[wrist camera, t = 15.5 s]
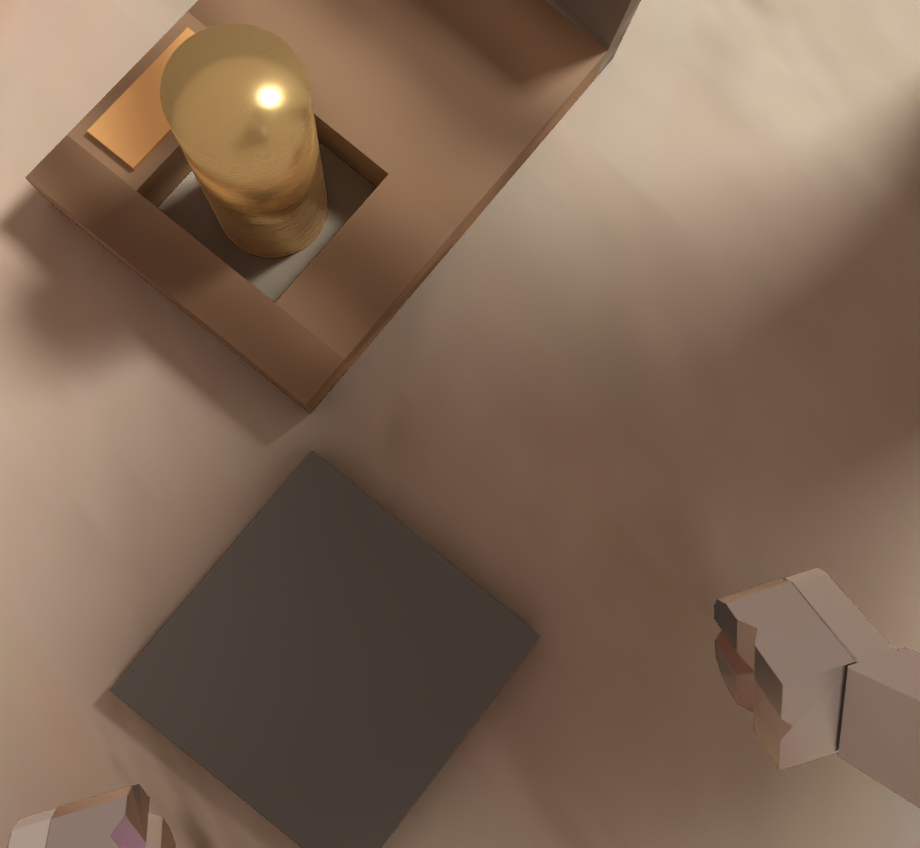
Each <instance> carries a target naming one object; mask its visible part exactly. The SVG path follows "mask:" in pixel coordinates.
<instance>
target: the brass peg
mask: <svg viewBox="0 0 920 848" xmlns="http://www.w3.org/2000/svg"><path fill="white" fill-rule="evenodd" d="M160 99H161V105H162V109H163V112H164V115H165V117H166V120H167V122H168V124H169V126H170V128H171V130H172V132H173V134H174V136H175V138H176V139H177V141H178V143H179V145H180V147H181V149H182V151H183V153H184V155H185V157H186V159H187V161H188V163H189V165H190V167H191V169H192V171H193V173H194V175H195V177H196V179H197V181H198V182H199V184H200V186H201V188H202V190H203V192H204V194H205V196H206V198H207V200H208V202H209V204H210V206H211V208H212V210H213V212H214V214H215V216H216V218H217V220H218V222H219V224H220V226H221V227H222V229H223V231H224V232H225V234H226V235H227V237H228V238H229V239H230V240H231V241H232V242H233V243H234V244H235V245H236V246H238V247H239V248H241V249H242V250H244V251H246V252H248V253H250V254H253V255H256V256H260V257H267V258H278V257H285V256H289V255H292V254H294V253H297V252H299V251H301V250H302V249H304V248H305V247H307V246H308V245H309V244H310V243H312V242H313V241H314V240H315V238H316V237H317V236H318V234H319V233H320V231H321V230H322V228H323V225H324V223H325V220H326V216H327V210H328V201H327V194H326V188H325V182H324V175H323V169H322V162H321V156H320V149H319V143H318V137H317V130H316V124H315V117H314V111H313V105H312V98H311V92H310V85H309V79H308V76H307V73H306V70H305V68H304V66H303V63H302V61H301V60H300V58H299V57H298V55H297V54H296V53H295V51H294V50H293V49H292V48H291V47H290V46H289V45H288V44H287V43H286V42H285V41H283V40H282V39H281V38H279V37H278V36H276V35H275V34H273V33H271V32H269V31H267V30H264V29H262V28H259V27H256V26H252V25H246V24H221V25H216V26H212V27H209V28H206V29H203V30H201V31H199V32H197V33H195V34H193V35H192V36H190V37H189V38H188V39H186V40H185V41H184V42H183V43H182V44H180V45H179V46H178V48H177V49H176V50H175V51H174V52H173V54H172V55H171V57H170V58H169V60H168V62H167V64H166V66H165V68H164V71H163V74H162V78H161V85H160Z"/></svg>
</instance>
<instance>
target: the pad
mask: <svg viewBox="0 0 920 848" xmlns="http://www.w3.org/2000/svg"><path fill="white" fill-rule="evenodd" d="M539 638H540V635H538V634H537V633H536V632H535V631H534V630H532V629H531V628H530V627H529V626H527V625H526V624H525V623H524V622H522V621H521V620H520V619H519V618H518V617H516V616H515V615H514V614H513V613H511V612H510V611H509V610H508V609H506V608H505V607H504V606H503V605H502V604H500V603H499V602H498V601H497V600H495V599H494V598H493V597H492V596H490V595H489V594H488V593H487V592H486V591H484V590H483V589H482V588H481V587H479V586H478V585H477V584H476V583H474V582H473V581H472V580H471V579H469V578H468V577H467V576H466V575H465V574H463V573H462V572H461V571H460V570H458V569H457V568H456V567H455V566H453V565H452V564H451V563H450V562H449V561H447V560H446V559H445V558H444V557H442V556H441V555H440V554H439V553H437V552H436V551H435V550H434V549H433V548H431V547H430V546H429V545H428V544H426V543H425V542H424V541H423V540H421V539H420V538H419V537H418V536H417V535H415V534H414V533H413V532H412V531H410V530H409V529H408V528H407V527H405V526H404V525H403V524H402V523H400V522H399V521H398V520H397V519H396V518H394V517H393V516H392V515H391V514H389V513H388V512H387V511H386V510H384V509H383V508H382V507H381V506H380V505H378V504H377V503H376V502H375V501H373V500H372V499H371V498H370V497H368V496H367V495H366V494H365V493H364V492H362V491H361V490H360V489H359V488H357V487H356V486H355V485H354V484H352V483H351V482H350V481H349V480H348V479H346V478H345V477H344V476H343V475H341V474H340V473H339V472H338V471H336V470H335V469H334V468H333V467H331V466H330V465H329V464H328V463H327V462H325V461H324V460H323V459H322V458H320V457H319V456H318V455H317V454H315V453H314V452H313V451H311V452H310V453H309V454H308V455H307V457H306V458H305V459H304V460H303V461H302V462H301V464H300V465H299V466H298V467H297V468H296V470H295V471H294V472H293V473H292V474H291V476H290V477H289V478H288V479H287V480H286V481H285V483H284V484H283V485H282V486H281V487H280V489H279V490H278V491H277V492H276V493H275V495H274V496H273V497H272V498H271V499H270V500H269V502H268V503H267V504H266V505H265V506H264V508H263V509H262V510H261V511H260V512H259V514H258V515H257V516H256V517H255V518H254V519H253V521H252V522H251V523H250V524H249V525H248V527H247V528H246V529H245V530H244V531H243V532H242V534H241V535H240V536H239V537H238V538H237V540H236V541H235V542H234V543H233V544H232V546H231V547H230V548H229V549H228V550H227V551H226V553H225V554H224V555H223V556H222V557H221V559H220V560H219V561H218V562H217V563H216V565H215V566H214V567H213V568H212V569H211V570H210V572H209V573H208V574H207V575H206V576H205V578H204V579H203V580H202V581H201V582H200V584H199V585H198V586H197V587H196V588H195V589H194V591H193V592H192V593H191V594H190V595H189V597H188V598H187V599H186V600H185V601H184V603H183V604H182V605H181V606H180V607H179V608H178V610H177V611H176V612H175V613H174V614H173V616H172V617H171V618H170V619H169V620H168V621H167V623H166V624H165V625H164V626H163V627H162V629H161V630H160V631H159V632H158V633H157V635H156V636H155V637H154V638H153V639H152V640H151V642H150V643H149V644H148V645H147V646H146V648H145V649H144V650H143V651H142V652H141V654H140V655H139V656H138V657H137V658H136V659H135V661H134V662H133V663H132V664H131V665H130V667H129V668H128V669H127V670H126V671H125V673H124V674H123V675H122V676H121V677H120V678H119V680H118V681H117V682H116V683H115V684H114V686H113V687H112V688H111V689H110V691H111V692H112V693H113V694H115V695H116V696H117V697H118V698H119V699H121V700H122V701H123V702H124V703H126V704H127V705H128V706H129V707H130V708H132V709H133V710H134V711H135V712H137V713H138V714H139V715H140V716H141V717H143V718H144V719H145V720H146V721H148V722H149V723H150V724H151V725H152V726H154V727H155V728H156V729H157V730H159V731H160V732H161V733H162V734H163V735H165V736H166V737H167V738H168V739H170V740H171V741H172V742H173V743H174V744H176V745H177V746H178V747H179V748H181V749H182V750H183V751H184V752H185V753H187V754H188V755H189V756H190V757H192V758H193V759H194V760H195V761H196V762H198V763H199V764H200V765H201V766H203V767H204V768H205V769H206V770H207V771H209V772H210V773H211V774H212V775H214V776H215V777H216V778H217V779H218V780H220V781H221V782H222V783H223V784H225V785H226V786H227V787H228V788H229V789H231V790H232V791H233V792H234V793H236V794H237V795H238V796H239V797H240V798H242V799H243V800H244V801H245V802H247V803H248V804H249V805H250V806H251V807H253V808H254V809H255V810H256V811H258V812H259V813H260V814H261V815H262V816H264V817H265V818H266V819H267V820H269V821H270V822H271V823H272V824H273V825H275V826H276V827H277V828H278V829H280V830H281V831H282V832H283V833H284V834H286V835H287V836H288V837H289V838H291V839H292V840H293V841H294V842H295V843H297V844H298V845H299V846H300V847H302V848H381V847H382V846H383V845H384V843H385V842H386V841H387V839H388V838H389V837H390V835H391V834H392V833H393V831H394V830H395V829H396V827H397V826H398V825H399V823H400V822H401V821H402V819H403V818H404V817H405V815H406V814H407V813H408V811H409V810H410V809H411V807H412V806H413V805H414V803H415V802H416V801H417V799H418V798H419V797H420V795H421V794H422V793H423V791H424V790H425V789H426V787H427V786H428V785H429V784H430V782H431V781H432V780H433V778H434V777H435V776H436V774H437V773H438V772H439V770H440V769H441V768H442V766H443V765H444V764H445V762H446V761H447V760H448V758H449V757H450V756H451V754H452V753H453V752H454V750H455V749H456V748H457V746H458V745H459V744H460V742H461V741H462V740H463V738H464V737H465V736H466V734H467V733H468V732H469V730H470V729H471V728H472V726H473V725H474V724H475V722H476V721H477V720H478V719H479V717H480V716H481V715H482V713H483V712H484V711H485V709H486V708H487V707H488V705H489V704H490V703H491V701H492V700H493V699H494V697H495V696H496V695H497V693H498V692H499V691H500V689H501V688H502V687H503V685H504V684H505V683H506V681H507V680H508V679H509V677H510V676H511V675H512V673H513V672H514V671H515V669H516V668H517V667H518V665H519V664H520V663H521V661H522V660H523V659H524V657H525V656H526V655H527V654H528V652H529V651H530V650H531V648H532V647H533V646H534V644H535V643H536V642H537V640H538V639H539Z"/></svg>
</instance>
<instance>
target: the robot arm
mask: <svg viewBox="0 0 920 848" xmlns="http://www.w3.org/2000/svg"><path fill="white" fill-rule="evenodd" d="M714 619H715V620H716V622H717V623H718V625H719V626H720V628H721V629H722V631H721V632H720V633H719V635H718V636H717V638H716V639H715V649H716V658H717V661H718V665H719V668H720V672H721V675H722V677H723V679H724V681H725V683H726V686H727V688H728V690H729V691H730V693H731V695H732V696H733V698H734V700H735V701H736V703H737V704H738V705H740V706H742V707H744V708H746V709H748V710H750V711H751V712H753V713H754V732H755V733H756V735H757V737H758V738H759V740H760V741H761V743H762V744H763V746H764V748H765V749H766V751H767V752H768V754H769V755H770V757H771V759H772V760H773V762H774V763H775V765H776V766H777V768H778V770H779V771H780V770H783V769H787V768H790V767H793V766H796V765H800V764H803V763H806V762H810V761H813V760H816V759H819V758H823V757H826V756H829V755H832V754H836V753H838V757H840V758H842V759H843V760H845V761H846V762H848V763H849V764H851V765H853V766H854V767H856V768H857V769H859V770H860V771H862V772H864V773H865V774H867V775H868V776H870V777H871V778H873V779H875V780H876V781H878V782H879V783H881V784H882V785H884V786H885V787H887V788H889V789H890V790H892V791H893V792H895V793H896V794H898V795H900V796H901V797H903V798H904V799H906V800H907V801H909V802H911V803H912V804H914V805H915V806H917V807H918V808H920V654H919V653H917V652H914V651H912V650H910V649H907V648H902V649H898V650H894V649H893V648H892V647H891V645H890V644H889V643H888V642H887V641H886V640H885V639H884V638H883V636H882V635H881V634H880V633H879V632H878V631H877V630H876V628H875V627H874V626H873V625H872V624H871V623H870V622H869V621H868V619H867V618H866V617H865V616H864V615H863V614H862V613H861V612H860V610H859V609H858V608H857V607H856V606H855V605H854V604H853V603H852V601H851V600H850V599H849V598H848V597H847V596H846V595H845V593H844V592H843V591H842V590H841V589H840V588H839V587H838V586H837V584H836V583H835V582H834V581H833V580H832V579H831V578H830V577H829V575H828V574H827V573H826V572H825V571H823V570H821V569H819V568H814V569H811V570H808V571H805V572H801V573H798V574H795V575H792V576H789V577H786V578H783V579H777V580H774V581H771V582H768V583H765V584H762V585H759V586H756V587H753V588H750V589H747V590H744V591H741V592H738V593H735V594H732V595H729V596H726V597H723V598H720V599H717V601H716V603H715V605H714ZM149 800H150V798H149V796H148V795H147V794H146V793H145V791H144V790H143V789H142V787H141V786H140V785H139V784H137V785H133V786H130V787H126V788H123V789H119V790H116V791H112V792H109V793H105V794H102V795H98V796H95V797H91V798H88V799H84V800H81V801H77V802H74V803H71V804H67V805H64V806H60V807H57V808H54V809H50V810H47V811H44V812H41V813H37V814H34V815H31V816H27V817H24V818H21V819H19V820H18V822H17V823H16V825H15V827H14V828H13V830H12V832H11V834H10V838H9V842H8V846H7V848H176V844H175V841H174V838H173V835H172V833H171V830H170V827H169V826H168V824H167V823H166V821H165V820H164V818H163V817H161V816H158V815H155V814H152V813H149Z"/></svg>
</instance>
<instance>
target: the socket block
mask: <svg viewBox="0 0 920 848" xmlns="http://www.w3.org/2000/svg"><path fill="white" fill-rule="evenodd" d="M640 1H641V0H198V1H197V2H196V3H195V4H194V5H193V6H192V7H191V8H190V9H189V10H188V11H187V12H186V14H185V15H184V16H183V17H182V18H181V19H180V20H179V21H178V22H177V23H176V24H175V25H174V26H173V27H172V28H171V29H170V30H169V31H168V32H167V33H166V34H165V35H164V36H163V37H162V38H161V39H160V40H159V41H158V42H157V43H156V44H155V45H154V46H153V47H152V48H151V49H150V50H149V51H148V52H147V53H146V55H145V56H144V57H143V58H142V59H141V60H140V61H139V62H138V63H137V64H136V65H135V66H134V67H133V68H132V69H131V70H130V71H129V72H128V73H127V74H126V75H125V76H124V77H123V78H122V79H121V80H120V81H119V82H118V83H117V84H116V85H115V86H114V87H113V88H112V89H111V90H110V91H109V92H108V93H107V94H106V96H105V97H104V98H103V99H102V100H101V101H100V102H99V103H98V104H97V105H96V106H95V107H94V108H93V109H92V110H91V111H90V112H89V113H88V114H87V115H86V116H85V117H84V118H83V119H82V120H81V121H80V122H79V123H78V124H77V125H76V126H75V127H74V128H73V129H72V130H71V131H70V132H69V133H68V134H67V135H66V136H65V138H64V139H63V140H62V141H61V142H60V143H59V144H58V145H57V146H56V147H55V148H54V149H53V150H52V151H51V152H50V153H49V154H48V155H47V156H46V157H45V158H44V159H43V160H42V161H41V162H40V163H39V164H38V165H37V166H36V167H35V168H34V169H33V170H32V171H31V172H30V173H29V174H28V175H27V176H26V177H25V178H26V179H27V180H28V181H29V182H30V183H31V184H32V185H33V186H34V187H35V188H36V189H37V190H38V191H39V192H40V193H41V194H42V195H43V196H44V197H45V198H46V199H47V200H48V201H49V202H50V203H51V204H53V205H54V206H55V207H56V208H57V209H59V210H60V211H61V212H62V213H64V214H65V215H66V216H67V217H69V218H70V219H71V220H72V221H73V222H75V223H76V224H77V225H78V226H80V227H81V228H82V229H83V230H85V231H86V232H87V233H88V234H90V235H91V236H92V237H93V238H94V239H96V240H97V241H98V242H99V243H101V244H102V245H103V246H104V247H106V248H107V249H108V250H109V251H110V252H112V253H113V254H114V255H115V256H117V257H118V258H119V259H120V260H122V261H123V262H124V263H125V264H126V265H128V266H129V267H130V268H131V269H133V270H134V271H135V272H136V273H138V274H139V275H140V276H141V277H143V278H144V279H145V280H146V281H147V282H149V283H150V284H151V285H152V286H154V287H155V288H156V289H157V290H159V291H160V292H161V293H162V294H163V295H165V296H166V297H167V298H168V299H170V300H171V301H172V302H173V303H175V304H176V305H177V306H178V307H180V308H181V309H182V310H183V311H184V312H186V313H187V314H188V315H189V316H191V317H192V318H193V319H194V320H196V321H197V322H198V323H199V324H200V325H202V326H203V327H204V328H205V329H207V330H208V331H209V332H210V333H212V334H213V335H214V336H215V337H217V338H218V339H219V340H220V341H221V342H223V343H224V344H225V345H226V346H228V347H229V348H230V349H231V350H233V351H234V352H235V353H236V354H237V355H239V356H240V357H241V358H242V359H244V360H245V361H246V362H247V363H249V364H250V365H251V366H252V367H253V368H255V369H256V370H257V371H258V372H260V373H261V374H262V375H263V376H265V377H266V378H267V379H268V380H270V381H271V382H272V383H273V384H274V385H276V386H277V387H278V388H279V389H281V390H282V391H283V392H284V393H286V394H287V395H288V396H289V397H290V398H292V399H293V400H294V401H295V402H297V403H298V404H299V405H300V406H302V407H303V408H304V409H305V410H307V411H308V412H309V413H311V412H312V411H313V410H314V409H315V408H316V406H317V405H318V404H319V403H320V402H321V401H322V399H323V398H324V397H325V396H326V395H327V393H328V392H329V391H330V390H331V389H332V388H333V386H334V385H335V384H336V383H337V382H338V381H339V379H340V378H341V377H342V376H343V375H344V373H345V372H346V371H347V370H348V369H349V368H350V366H351V365H352V364H353V363H354V362H355V361H356V359H357V358H358V357H359V356H360V355H361V353H362V352H363V351H364V350H365V349H366V348H367V346H368V345H369V344H370V343H371V342H372V341H373V339H374V338H375V337H376V336H377V335H378V334H379V332H380V331H381V330H382V329H383V328H384V326H385V325H386V324H387V323H388V322H389V321H390V319H391V318H392V317H393V316H394V315H395V314H396V312H397V311H398V310H399V309H400V308H401V306H402V305H403V304H404V303H405V302H406V301H407V299H408V298H409V297H410V296H411V295H412V294H413V292H414V291H415V290H416V289H417V288H418V286H419V285H420V284H421V283H422V282H423V281H424V279H425V278H426V277H427V276H428V275H429V274H430V272H431V271H432V270H433V269H434V268H435V266H436V265H437V264H438V263H439V262H440V261H441V259H442V258H443V257H444V256H445V255H446V254H447V252H448V251H449V250H450V249H451V248H452V247H453V245H454V244H455V243H456V242H457V241H458V239H459V238H460V237H461V236H462V235H463V234H464V232H465V231H466V230H467V229H468V228H469V227H470V225H471V224H472V223H473V222H474V221H475V219H476V218H477V217H478V216H479V215H480V214H481V212H482V211H483V210H484V209H485V208H486V207H487V205H488V204H489V203H490V202H491V201H492V199H493V198H494V197H495V196H496V195H497V194H498V192H499V191H500V190H501V189H502V188H503V187H504V185H505V184H506V183H507V182H508V181H509V179H510V178H511V177H512V176H513V175H514V174H515V172H516V171H517V170H518V169H519V168H520V167H521V165H522V164H523V163H524V162H525V161H526V160H527V158H528V157H529V156H530V155H531V154H532V152H533V151H534V150H535V149H536V148H537V147H538V145H539V144H540V143H541V142H542V141H543V140H544V138H545V137H546V136H547V135H548V134H549V132H550V131H551V130H552V129H553V128H554V127H555V125H556V124H557V123H558V122H559V121H560V120H561V118H562V117H563V116H564V115H565V114H566V112H567V111H568V110H569V109H570V108H571V107H572V105H573V104H574V103H575V102H576V101H577V100H578V98H579V97H580V96H581V95H582V94H583V92H584V91H585V90H586V89H587V88H588V87H589V85H590V84H591V83H592V82H593V81H594V80H595V78H596V77H597V76H598V75H599V74H600V73H601V71H602V70H603V69H604V68H605V67H606V65H607V64H608V63H609V62H610V61H611V60H612V58H613V57H614V55H615V52H616V50H617V48H618V46H619V44H620V42H621V40H622V38H623V36H624V34H625V32H626V30H627V28H628V26H629V24H630V22H631V19H632V17H633V15H634V13H635V11H636V9H637V7H638V5H639V3H640ZM221 24H246V25H252V26H256V27H259V28H262V29H264V30H267V31H269V32H271V33H273V34H275V35H276V36H278V37H279V38H281V39H282V40H283V41H285V42H286V43H287V44H288V45H289V46H290V47H291V48H292V49H293V50H294V51H295V53H296V54H297V55H298V57H299V58H300V60H301V61H302V63H303V66H304V68H305V70H306V73H307V76H308V79H309V85H310V92H311V98H312V105H313V111H314V117H315V124H316V130H317V137H318V140H319V141H320V142H321V143H322V144H324V145H325V146H326V147H327V148H329V149H330V150H331V151H332V152H334V153H335V154H336V155H337V156H339V157H340V158H341V159H342V160H344V161H345V162H346V163H347V164H348V165H350V166H351V167H352V168H353V169H355V170H356V171H357V172H358V173H360V174H361V175H362V176H363V177H365V178H366V179H367V180H368V181H370V182H371V183H372V184H373V185H375V186H376V187H377V188H376V189H375V190H374V191H373V192H372V194H371V195H370V196H369V197H368V198H367V199H366V200H365V202H364V203H363V204H362V205H361V206H360V207H359V208H358V209H357V211H356V212H355V213H354V214H353V215H352V216H351V217H350V219H349V220H348V221H347V222H346V223H345V224H344V225H343V226H342V228H341V229H340V230H339V231H338V232H337V233H336V234H335V236H334V237H333V238H332V239H331V240H330V241H329V242H328V243H327V245H326V246H325V247H324V248H323V249H322V250H321V251H320V252H319V254H318V255H317V256H316V257H315V258H314V259H313V260H312V262H311V263H310V264H309V265H308V266H307V267H306V268H305V269H304V271H303V272H302V273H301V274H300V275H299V276H298V277H297V279H296V280H295V281H294V282H293V283H292V284H291V285H290V286H289V288H288V289H287V290H286V291H285V292H284V293H283V294H282V296H281V297H280V298H279V299H278V300H277V301H276V302H275V303H274V302H273V301H272V300H271V299H269V298H268V297H267V296H266V295H264V294H263V293H262V292H261V291H259V290H258V289H257V288H256V287H254V286H253V285H252V284H251V283H250V282H248V281H247V280H246V279H245V278H243V277H242V276H241V275H240V274H238V273H237V272H236V271H235V270H233V269H232V268H231V267H230V266H229V265H227V264H226V263H225V262H224V261H222V260H221V259H220V258H219V257H217V256H216V255H215V254H214V253H212V252H211V251H210V250H209V249H208V248H206V247H205V246H204V245H203V244H201V243H200V242H199V241H198V240H196V239H195V238H194V237H193V236H191V235H190V234H189V233H188V232H187V231H185V230H184V229H183V228H182V227H180V226H179V225H178V224H177V223H175V222H174V221H173V220H172V219H170V218H169V217H168V216H167V215H166V214H164V213H163V212H162V211H161V210H159V209H158V208H157V207H158V206H159V205H160V204H161V203H162V202H163V201H164V200H165V199H166V197H167V196H168V195H169V194H170V193H171V192H172V191H173V190H174V189H175V188H176V187H177V186H178V185H179V184H180V182H181V181H182V180H183V179H184V178H185V177H186V176H187V175H188V174H189V173H190V172H191V171H192V169H191V167H190V165H189V163H188V161H187V159H186V157H185V155H184V153H183V151H182V149H181V147H180V145H179V143H178V141H177V139H176V138H175V136H174V134H173V132H172V130H171V128H170V126H169V124H168V122H167V120H166V117H165V115H164V112H163V109H162V105H161V99H160V85H161V78H162V74H163V71H164V68H165V66H166V64H167V62H168V60H169V58H170V57H171V55H172V54H173V52H174V51H175V50H176V49H177V48H178V46H179V45H180V44H182V43H183V42H184V41H185V40H186V39H188V38H189V37H190V36H192V35H193V34H195V33H197V32H199V31H201V30H203V29H206V28H209V27H212V26H216V25H221Z"/></svg>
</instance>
